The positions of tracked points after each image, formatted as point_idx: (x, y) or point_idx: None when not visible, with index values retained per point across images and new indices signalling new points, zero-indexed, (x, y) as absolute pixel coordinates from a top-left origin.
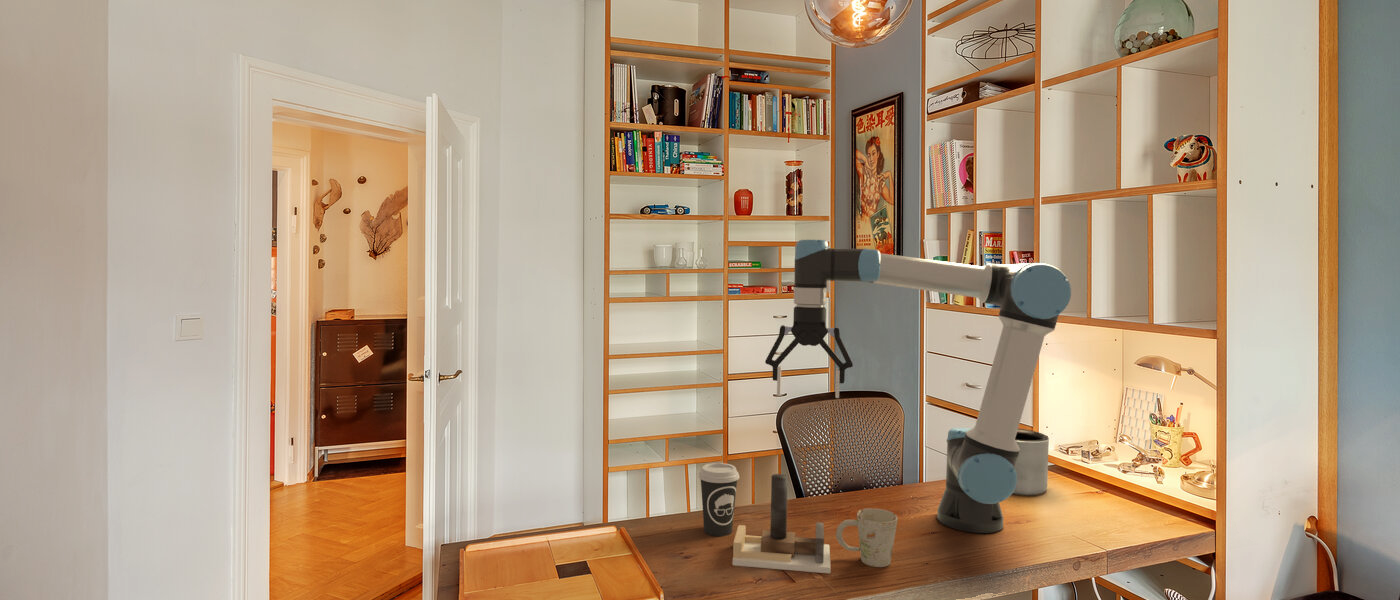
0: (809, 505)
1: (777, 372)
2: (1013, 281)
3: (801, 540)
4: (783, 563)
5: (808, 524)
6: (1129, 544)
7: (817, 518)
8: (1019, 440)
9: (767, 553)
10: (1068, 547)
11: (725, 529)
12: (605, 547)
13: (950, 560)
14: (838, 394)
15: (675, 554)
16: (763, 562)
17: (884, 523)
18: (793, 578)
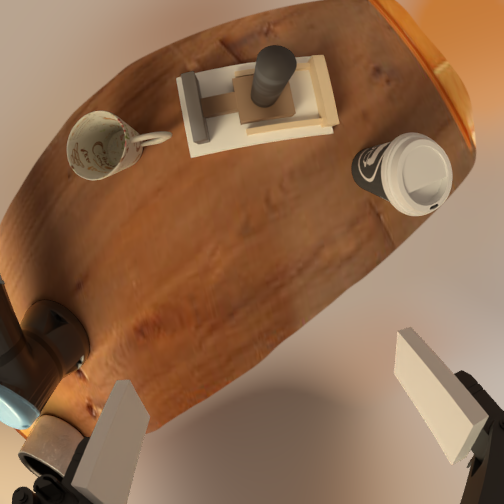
0: (259, 327)
1: (473, 398)
2: None
3: (224, 99)
4: (243, 64)
5: (244, 249)
6: None
7: (236, 279)
8: (30, 455)
9: None
10: None
11: (359, 153)
12: (460, 84)
13: (48, 199)
14: (114, 391)
15: (392, 75)
16: None
17: (82, 117)
18: (223, 48)
